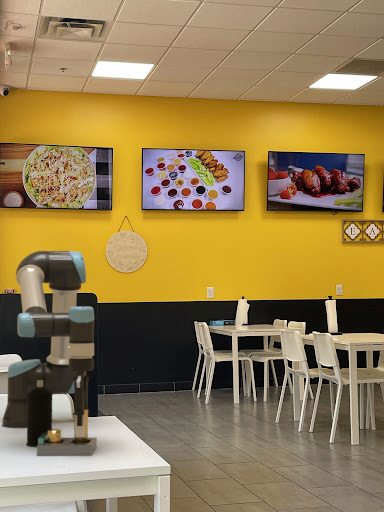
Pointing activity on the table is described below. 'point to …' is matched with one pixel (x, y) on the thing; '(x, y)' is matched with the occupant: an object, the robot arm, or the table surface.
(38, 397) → the aerosol can
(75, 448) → the jig
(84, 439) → the brass rod
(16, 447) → the table surface
